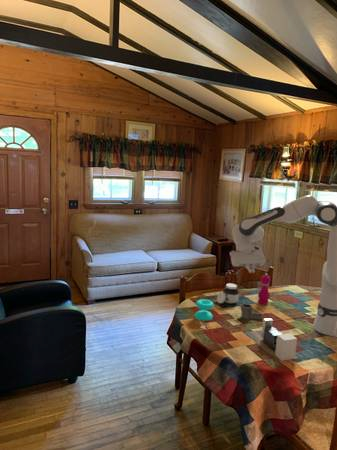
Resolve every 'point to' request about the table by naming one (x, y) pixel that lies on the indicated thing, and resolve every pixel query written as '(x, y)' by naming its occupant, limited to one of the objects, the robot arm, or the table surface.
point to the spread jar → (229, 294)
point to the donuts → (202, 313)
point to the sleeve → (270, 337)
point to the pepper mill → (264, 290)
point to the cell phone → (204, 327)
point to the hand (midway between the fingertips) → (252, 272)
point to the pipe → (249, 312)
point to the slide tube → (266, 324)
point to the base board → (259, 340)
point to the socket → (286, 346)
